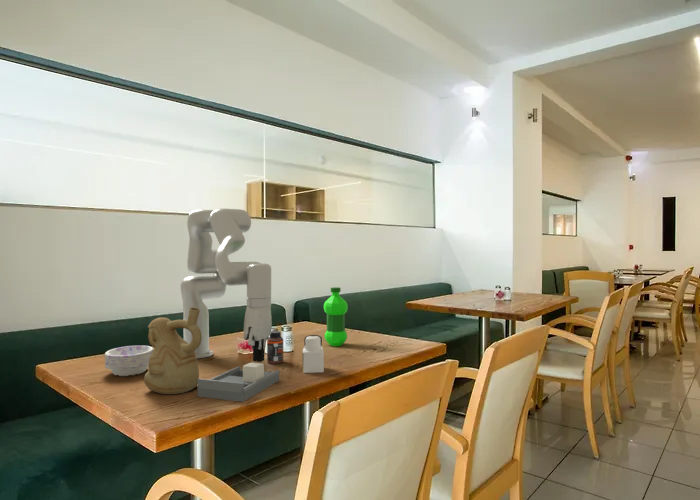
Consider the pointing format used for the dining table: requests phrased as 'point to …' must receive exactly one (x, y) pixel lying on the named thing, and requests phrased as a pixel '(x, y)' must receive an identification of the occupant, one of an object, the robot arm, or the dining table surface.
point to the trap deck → (234, 385)
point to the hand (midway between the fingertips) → (258, 360)
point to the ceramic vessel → (173, 355)
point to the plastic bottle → (335, 318)
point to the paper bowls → (128, 360)
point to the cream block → (253, 372)
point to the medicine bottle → (313, 354)
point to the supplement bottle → (275, 348)
